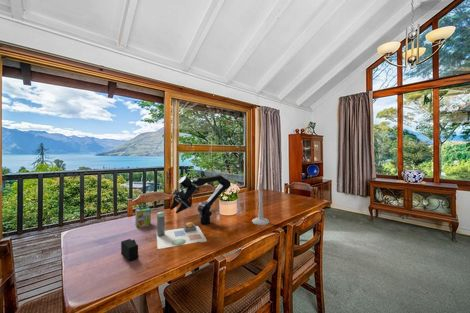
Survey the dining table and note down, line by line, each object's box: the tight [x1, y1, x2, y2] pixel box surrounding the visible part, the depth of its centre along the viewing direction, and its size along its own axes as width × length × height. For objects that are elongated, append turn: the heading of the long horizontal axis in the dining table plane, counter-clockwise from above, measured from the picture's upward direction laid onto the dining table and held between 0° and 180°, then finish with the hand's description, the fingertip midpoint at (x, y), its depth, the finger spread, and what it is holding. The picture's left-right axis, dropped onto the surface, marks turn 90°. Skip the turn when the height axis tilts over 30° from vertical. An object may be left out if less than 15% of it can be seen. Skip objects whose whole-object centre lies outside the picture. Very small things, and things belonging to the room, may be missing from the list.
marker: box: [156, 211, 166, 237], centre depth 122 cm, size 5×5×14 cm
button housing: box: [182, 223, 196, 232], centre depth 131 cm, size 7×7×2 cm
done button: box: [185, 221, 194, 228], centre depth 131 cm, size 4×4×2 cm
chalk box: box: [134, 203, 152, 229], centre depth 140 cm, size 9×9×15 cm
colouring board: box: [156, 225, 207, 250], centre depth 121 cm, size 27×24×1 cm
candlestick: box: [251, 182, 270, 226], centre depth 147 cm, size 13×13×30 cm
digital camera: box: [120, 238, 139, 263], centre depth 99 cm, size 10×5×7 cm, turn 49°
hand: (173, 211), depth 128 cm, fingers open, 9 cm apart
